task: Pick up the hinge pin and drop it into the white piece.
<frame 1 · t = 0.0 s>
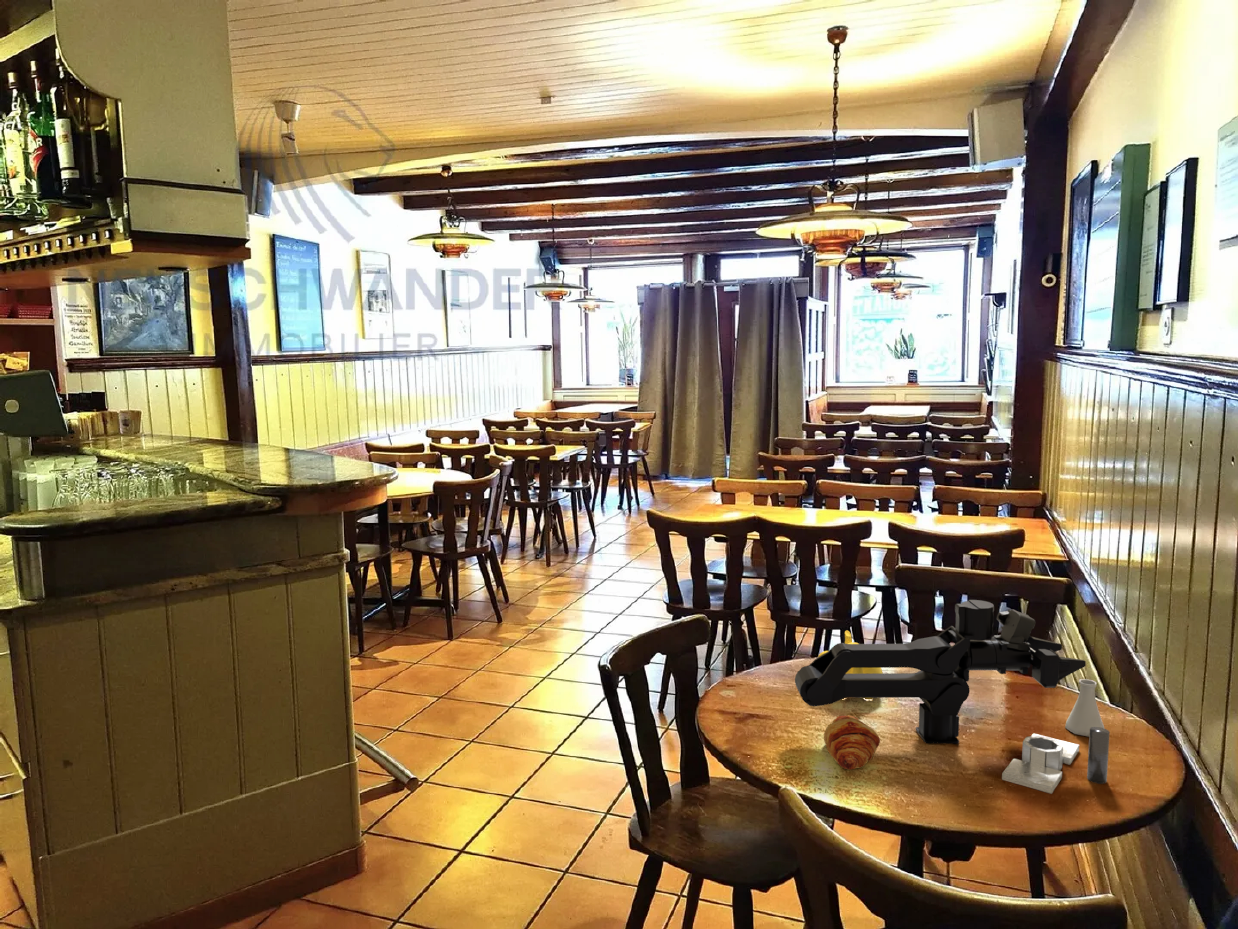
hand: (1073, 654, 165), 17 cm above the table, tool horizontal, fingers open, 9 cm apart
flask: (1084, 731, 170), on the table
white piece: (1041, 764, 156), on the table
croissant: (851, 753, 162), on the table
hinge pin: (1096, 779, 150), on the table
teapot: (848, 694, 190), on the table
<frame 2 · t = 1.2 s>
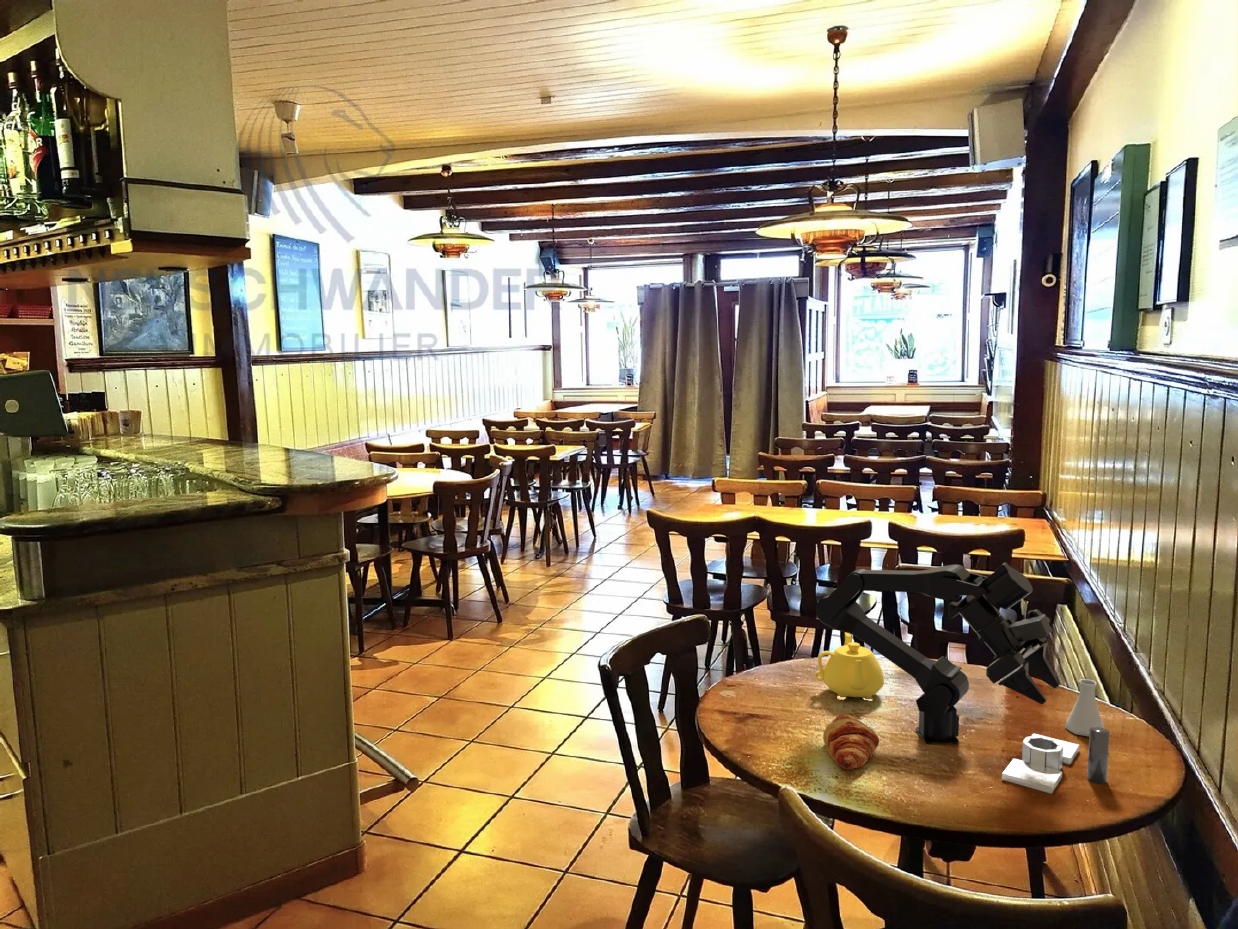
hand: (1050, 694, 154), 13 cm above the table, tool tilted 45°, fingers open, 9 cm apart
nothing on the table moved.
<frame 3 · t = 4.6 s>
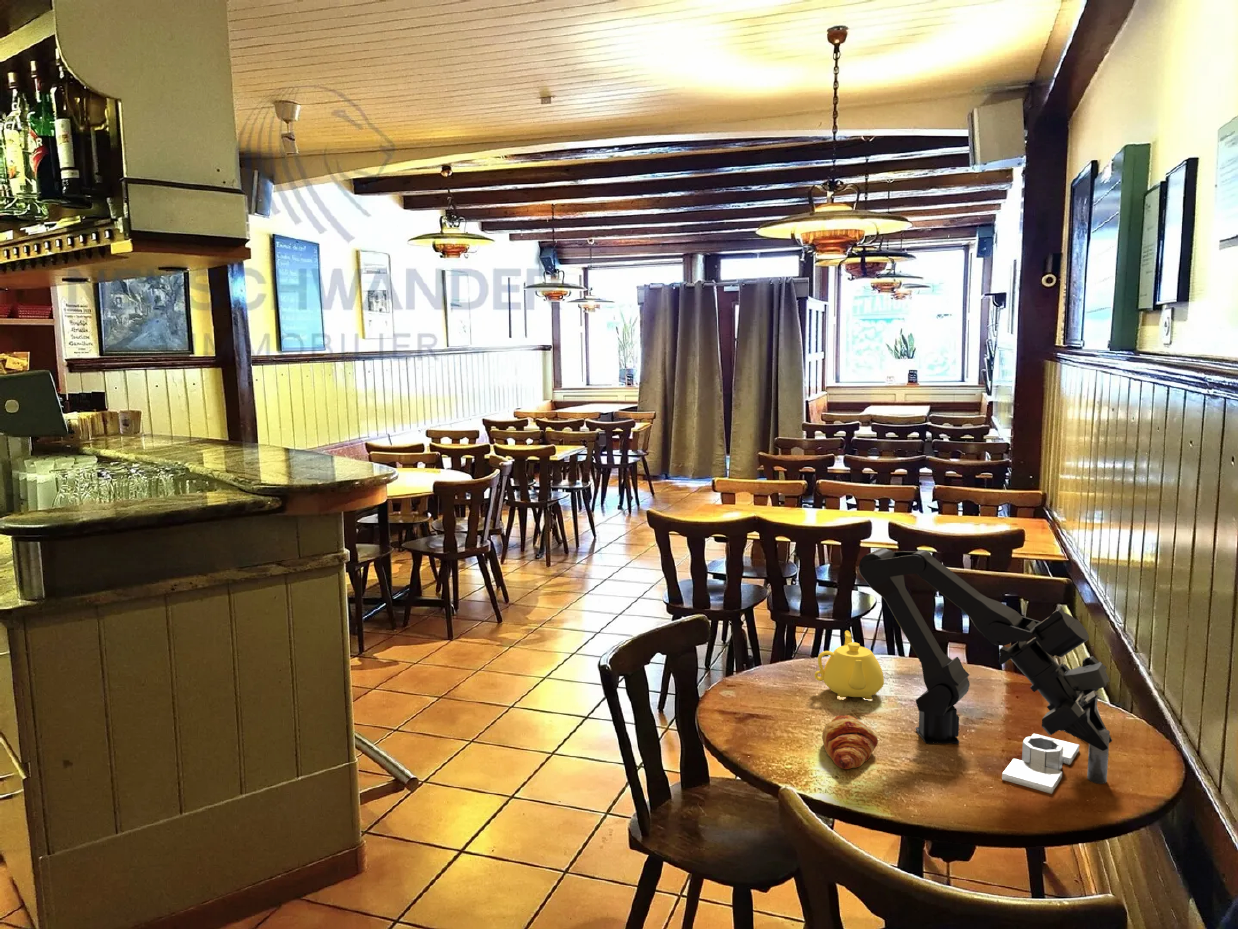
hand: (1107, 746, 149), 7 cm above the table, tool tilted 45°, fingers closed on hinge pin, 3 cm apart
hinge pin: (1096, 779, 150), on the table, touching gripper
everything else where it was.
when the fingers open (8 cm above the table, at t = 8.1 s): hinge pin drops 1 cm, resting in white piece.
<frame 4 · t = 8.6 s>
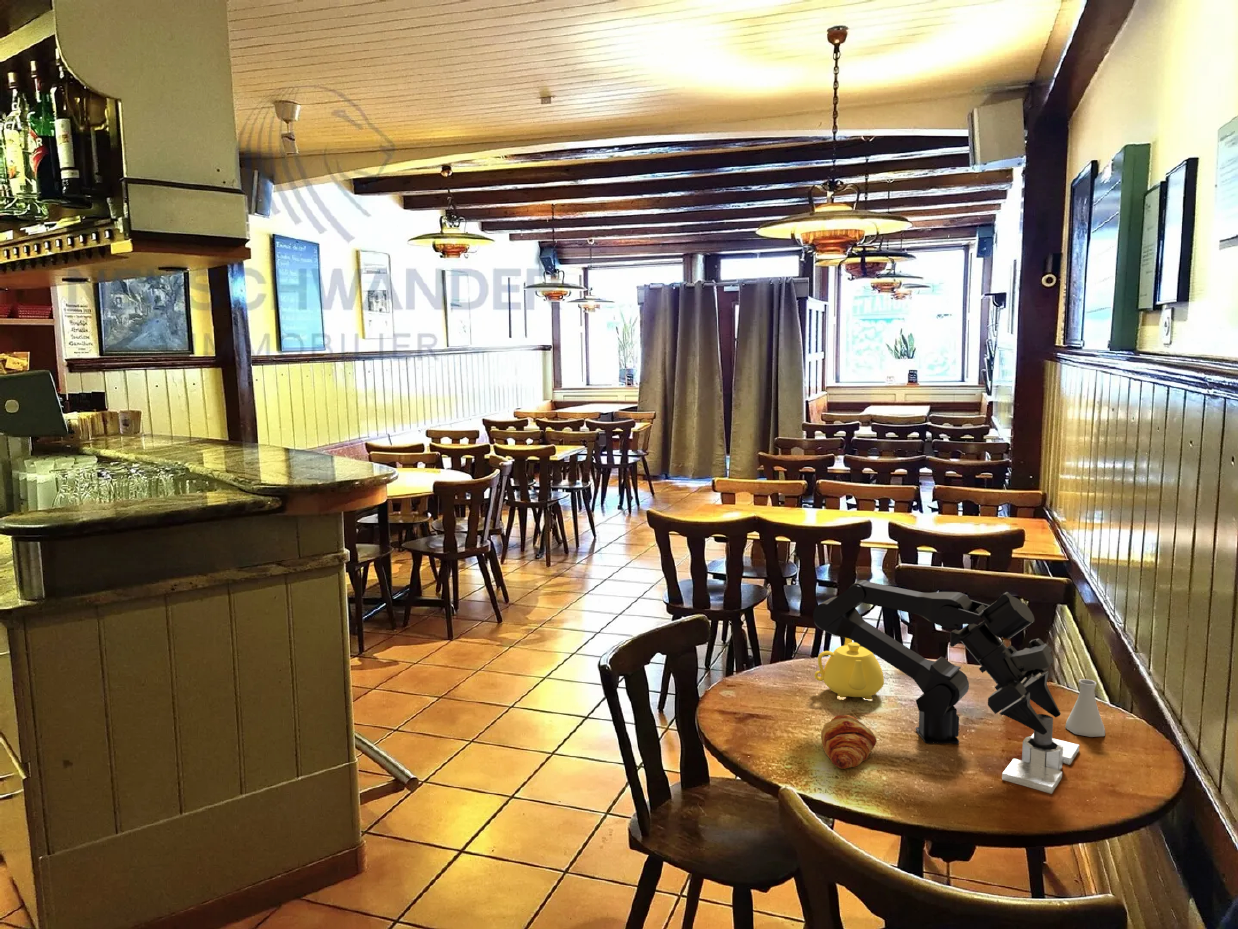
hand: (1052, 724, 154), 8 cm above the table, tool tilted 45°, fingers open, 9 cm apart
hinge pin: (1041, 764, 156), resting in white piece
everything else where it was.
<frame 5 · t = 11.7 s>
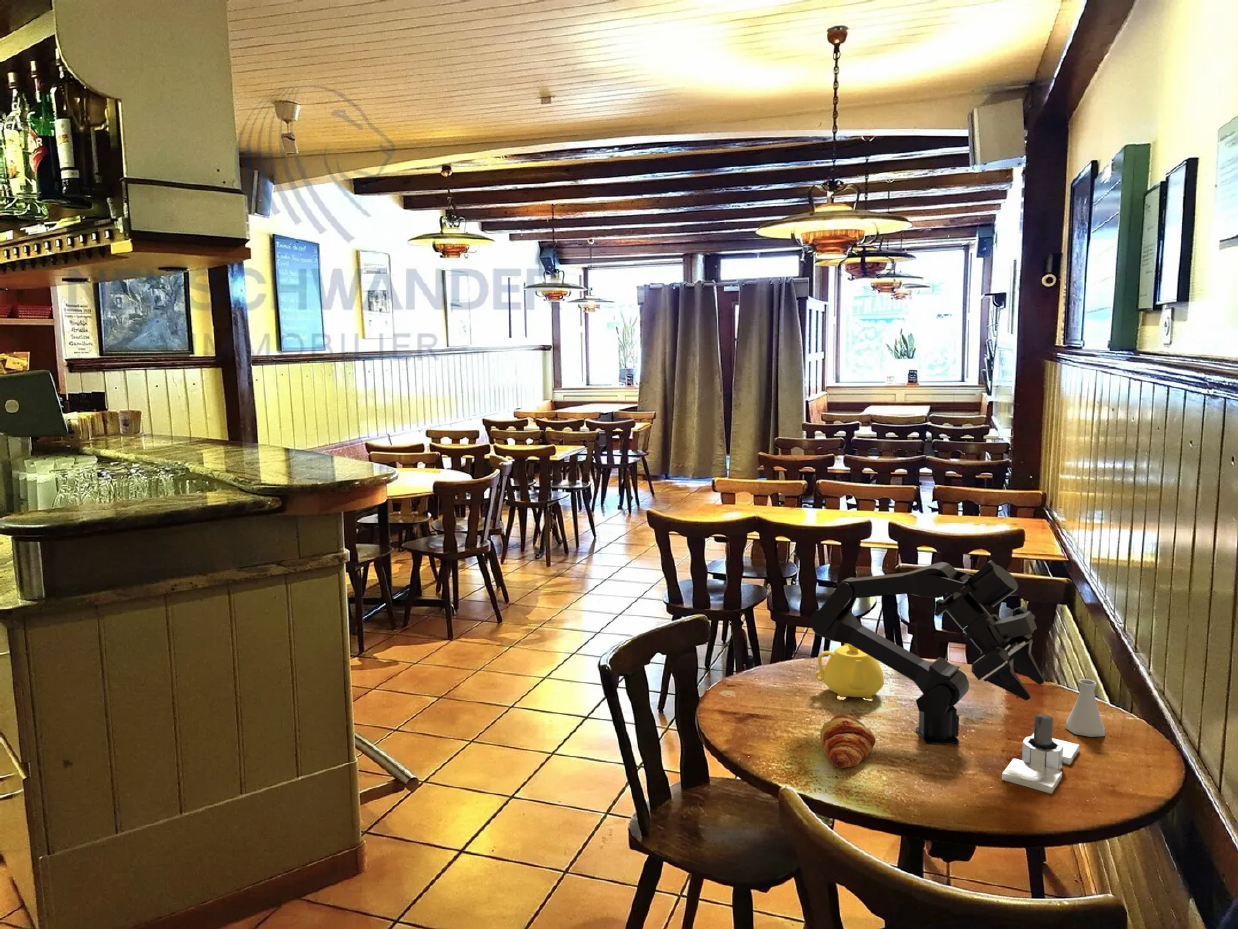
hand: (1035, 691, 155), 14 cm above the table, tool tilted 45°, fingers open, 9 cm apart
nothing on the table moved.
at the end: hinge pin 0.0 cm off-centre on the white piece, point 0.0 cm above the white piece's base; hinge pin tilted 0°; the gripper is holding nothing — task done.
